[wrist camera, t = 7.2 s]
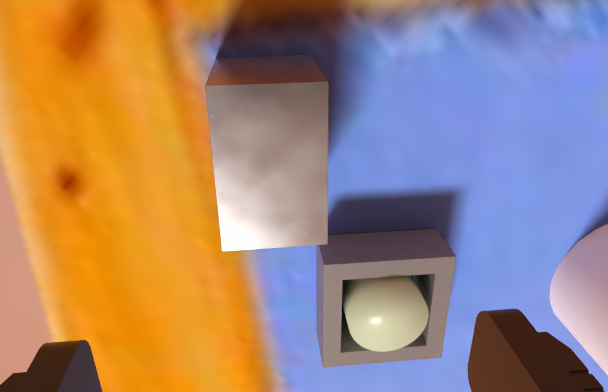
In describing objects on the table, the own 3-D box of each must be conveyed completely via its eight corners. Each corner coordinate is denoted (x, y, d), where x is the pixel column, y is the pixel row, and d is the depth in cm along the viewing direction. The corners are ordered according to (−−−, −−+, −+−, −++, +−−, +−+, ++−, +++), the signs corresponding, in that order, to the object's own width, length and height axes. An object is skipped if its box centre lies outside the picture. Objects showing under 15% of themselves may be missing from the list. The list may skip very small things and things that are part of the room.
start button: (414, 251, 28) (432, 284, 25) (408, 311, 30) (424, 348, 27) (339, 256, 28) (349, 289, 25) (338, 317, 30) (347, 354, 27)
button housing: (436, 228, 28) (456, 256, 25) (424, 323, 31) (441, 357, 28) (316, 235, 27) (323, 265, 25) (316, 331, 30) (322, 367, 28)
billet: (310, 54, 23) (328, 81, 18) (311, 186, 26) (327, 244, 21) (216, 57, 23) (205, 86, 17) (228, 191, 26) (222, 251, 20)
